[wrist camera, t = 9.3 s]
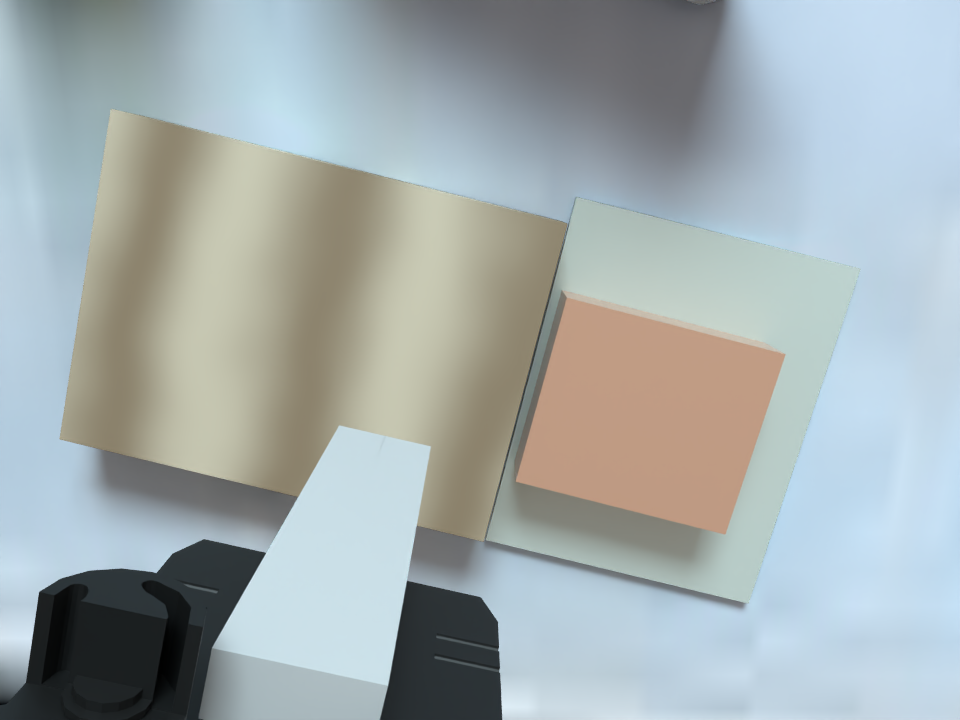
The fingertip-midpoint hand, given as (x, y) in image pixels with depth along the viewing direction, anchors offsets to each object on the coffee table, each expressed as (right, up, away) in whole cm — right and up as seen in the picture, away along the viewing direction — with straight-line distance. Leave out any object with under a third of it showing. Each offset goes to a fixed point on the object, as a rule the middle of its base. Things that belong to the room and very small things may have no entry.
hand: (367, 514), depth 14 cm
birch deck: (-4, +4, +19) cm, 20 cm away
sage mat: (+9, +1, +20) cm, 22 cm away
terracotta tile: (+8, +1, +19) cm, 21 cm away
